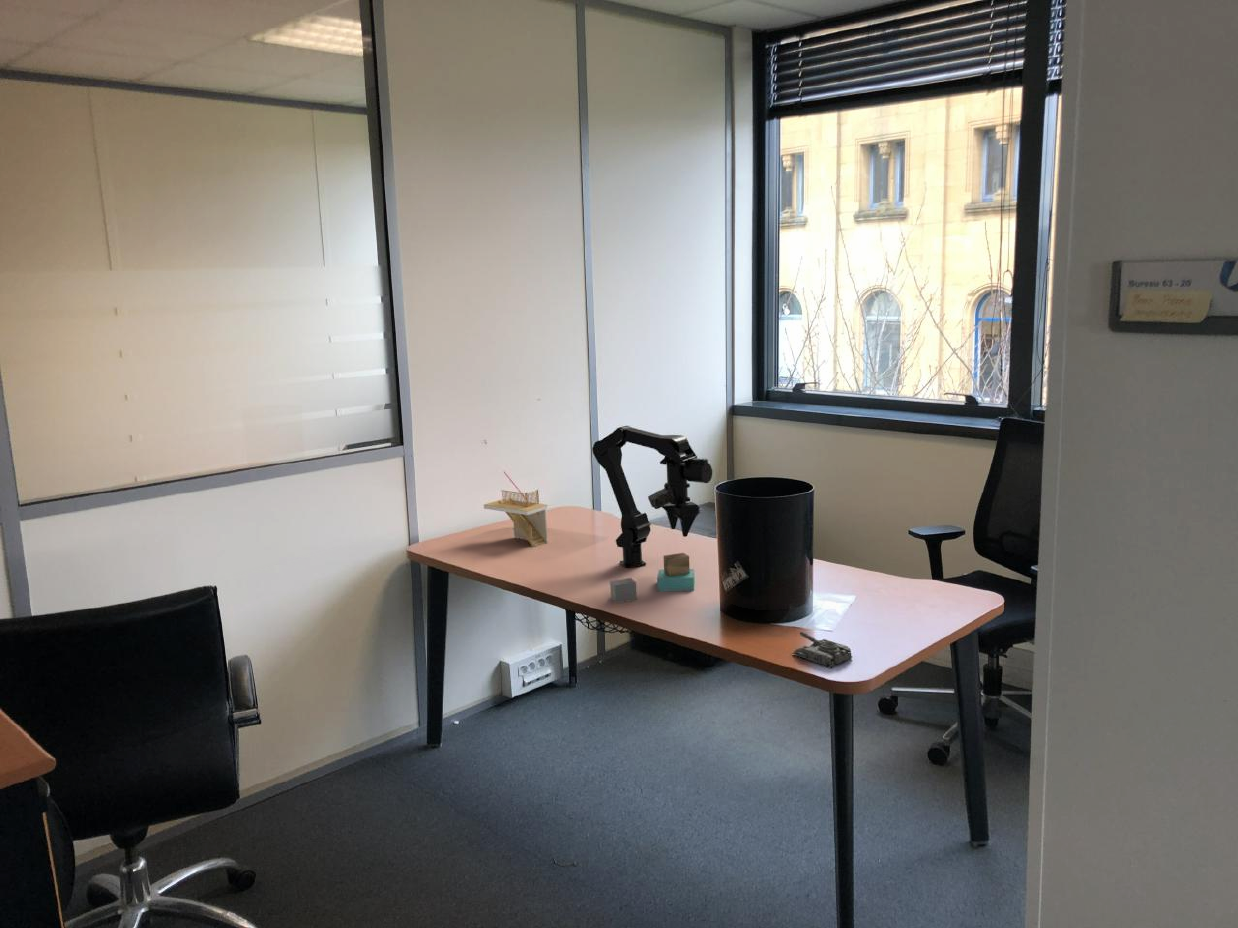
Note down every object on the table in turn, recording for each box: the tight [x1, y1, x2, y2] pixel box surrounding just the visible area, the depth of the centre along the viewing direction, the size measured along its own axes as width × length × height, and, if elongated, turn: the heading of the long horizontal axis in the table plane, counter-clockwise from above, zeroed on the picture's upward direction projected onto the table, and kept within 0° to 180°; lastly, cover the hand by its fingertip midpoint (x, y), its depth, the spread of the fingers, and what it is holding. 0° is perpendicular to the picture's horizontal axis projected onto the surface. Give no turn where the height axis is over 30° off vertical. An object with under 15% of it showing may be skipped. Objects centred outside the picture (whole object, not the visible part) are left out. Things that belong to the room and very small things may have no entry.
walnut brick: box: [663, 552, 691, 577], centre depth 268 cm, size 4×6×5 cm, turn 110°
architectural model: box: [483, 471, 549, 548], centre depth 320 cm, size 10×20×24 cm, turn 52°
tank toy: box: [791, 631, 853, 669], centre depth 214 cm, size 12×10×5 cm
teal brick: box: [656, 568, 695, 592], centre depth 268 cm, size 8×10×4 cm
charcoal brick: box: [609, 577, 638, 604], centre depth 260 cm, size 4×6×5 cm, turn 109°
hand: (679, 532), depth 279 cm, fingers open, 9 cm apart
